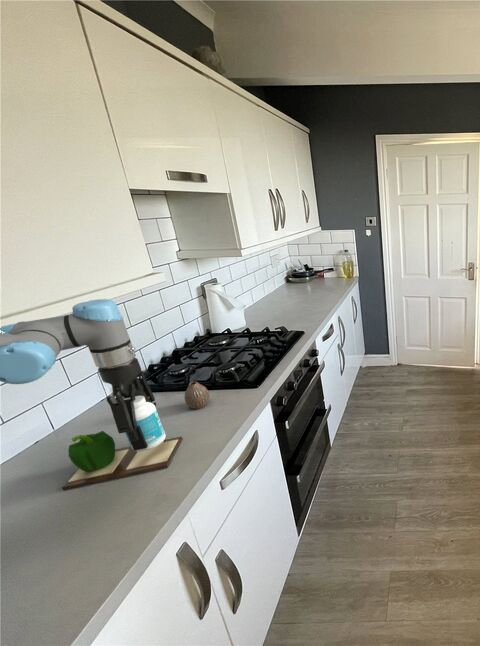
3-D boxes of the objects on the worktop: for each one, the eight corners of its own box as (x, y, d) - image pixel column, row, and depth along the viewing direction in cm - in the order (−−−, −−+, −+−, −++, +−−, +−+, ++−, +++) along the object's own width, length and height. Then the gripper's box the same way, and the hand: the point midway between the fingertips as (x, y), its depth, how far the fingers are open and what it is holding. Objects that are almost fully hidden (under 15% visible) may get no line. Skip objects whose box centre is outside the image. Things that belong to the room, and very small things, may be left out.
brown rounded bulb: (214, 404, 118) (208, 382, 115) (191, 414, 113) (184, 391, 110) (207, 397, 122) (201, 375, 119) (185, 406, 117) (177, 384, 114)
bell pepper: (125, 449, 96) (112, 419, 93) (114, 469, 89) (100, 438, 86) (86, 459, 93) (71, 428, 90) (72, 480, 86) (55, 448, 82)
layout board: (63, 490, 85) (61, 486, 84) (91, 457, 95) (89, 453, 95) (167, 467, 91) (166, 464, 91) (182, 439, 102) (181, 435, 101)
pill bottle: (172, 438, 95) (157, 396, 90) (142, 456, 89) (124, 411, 84) (156, 431, 98) (140, 390, 93) (126, 448, 92) (107, 405, 87)
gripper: (115, 379, 76) (148, 461, 85) (152, 343, 95) (176, 413, 103) (73, 385, 74) (111, 468, 83) (119, 348, 92) (147, 419, 101)
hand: (147, 438), depth 93 cm, fingers closed on pill bottle, 7 cm apart
